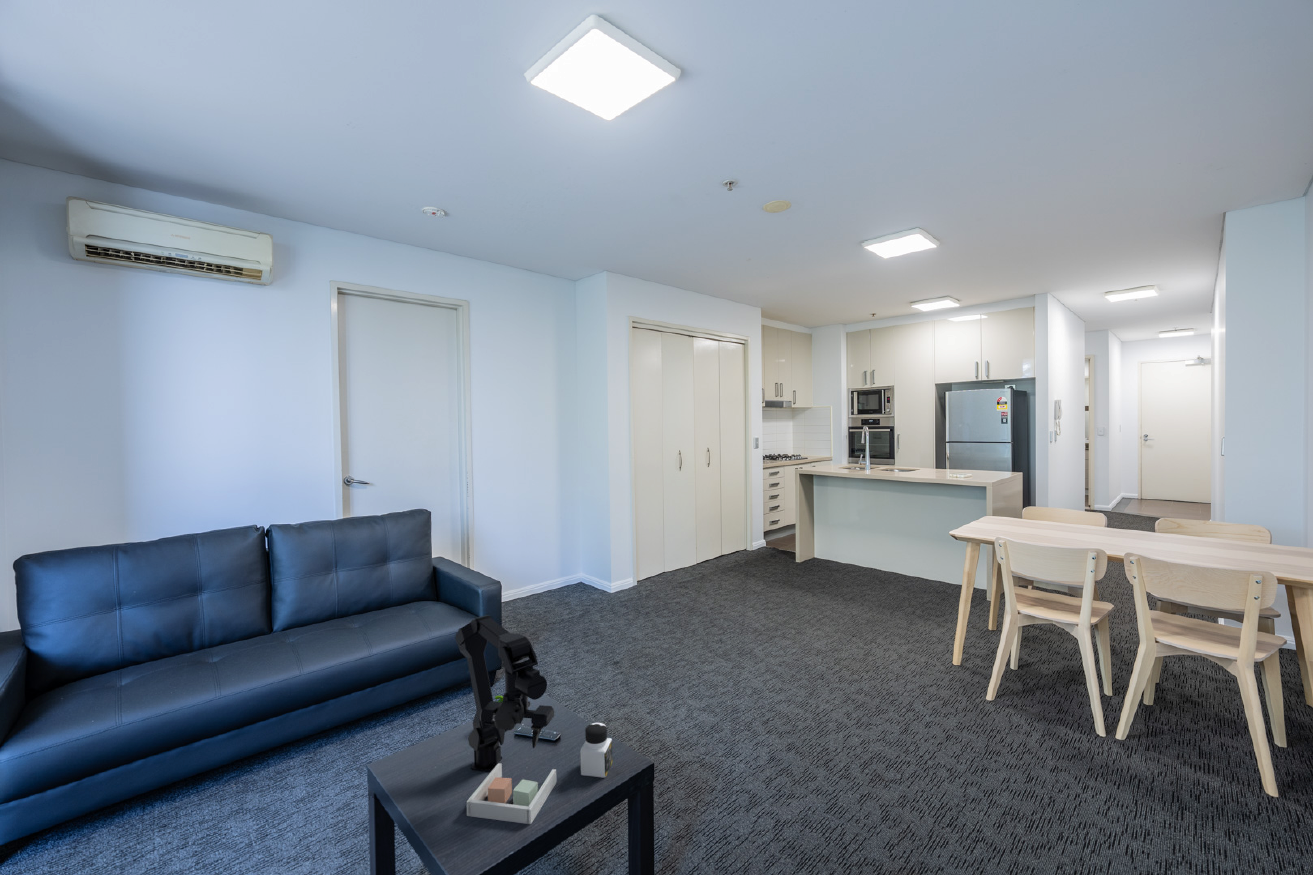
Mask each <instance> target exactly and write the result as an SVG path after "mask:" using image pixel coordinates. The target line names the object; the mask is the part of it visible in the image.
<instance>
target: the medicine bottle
mask: <svg viewBox="0 0 1313 875" xmlns="http://www.w3.org/2000/svg"><path fill="white" fill-rule="evenodd" d="M584 733H585V734H584V735H585V736H584V737H585V742H584V744H583V745H582V747H581V748H580V750H579V752H580V775H581V776H584V777H585V776H586V777H594V778H604V779H605V778H606V777H607V775H608V773H609V771H610V769H611V766H612V764H613V739H612V738H610V737H608V727H607V726H606V724H604V723H601V722H593V723H590V724H589V725H588V724H587V726H586V727H585V731H584Z"/></svg>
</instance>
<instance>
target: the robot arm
mask: <svg viewBox="0 0 1313 875" xmlns="http://www.w3.org/2000/svg"><path fill="white" fill-rule="evenodd" d="M454 638H455V642H456V644H457V646H458V650H459V652H460V653H461V654H462V656H464V658H466V660H467V665H468V670H469V676H470V682H471V687H472V693H473V698H474V703H475V708H476V709H475V710H476V711H475V713H474V714H475V715H474V717H473V721H472V727H473V728H472V729H473V730H472V731H471V733H470V734H469V735H468V737H467V740H468V741H467V742H468V746H469V747H471V748H472V749H473V758H474V759H473V764H472V766H471V770H477V771H486V772H491V771H492V770H493V769H494V768H495V767H496V765H497V764H498V763H500V762H502V760H503V756H502V748H501V746H503V745H504V742H505V733H506V731H510V730H511V731H512V730H513V729H514V728H515V727H516V725H521V723H522V722H523V720H524V719H531V720H530V721H531V724H532V725H531V726H530V729H531V730H532V737H531V738H532V739H531V741H532V742H531V743H532V749H535V748H536V747H537V745H538V744H537V743H538V740H539V738H540V735H541V731H542V730H543V728H545V727H547V726H548V725H549V724H550V722H551V721H552V720H553V718H554V717H555V709H554V707H553V706H551V705H541V704H540V705H539V706H538V707H537V708H536V709H535V710H534V709H529V708H530V706H531V701H529V699H531V700H534V701H536V700H539V699H540V698H542V697H543V695H544V694H546V691H547V687H548V681H547V680H546V678H545V677H544V676H543V675H541V671H540V670H539V669H537V668H534V667H535V666H538V664H539V662H538V659H537V658H538V656H537V653H536V652H535V650H534V648H533V646H532V642H531V641H530V640H529V639H528V637H526V636H524V635H523V634H520V633H511V632H509V631H508V630H507V629H505V627H503V626H501V625H500V623H498V622H496V621H495V620H493V617H492V616H491V615H488V614H486V615H481V616H478V617H475V618H474V619H472V620H471V621H470V622H468V623H467V624H465V625H464V626H462V627H459V628H458V631H457V632H456V633H455V636H454ZM488 642H489V643H490V644H491V645H493V646H494V647H495V648H496V649H497V651H498V652H497V653H498V657H499V658H500V660H501V661H502V663H501V664H500V665H501V668H504V682H505V684H504V685H505V686H504V687H505V691H504V692H505V693H504V694H502V697H503V701H502V702H495V701H494V699H493V697H494V696H493V692H492V689H491V683H490V678H489V672H488V668H487V662H486V657H485V651H486V648H487V645H488Z"/></svg>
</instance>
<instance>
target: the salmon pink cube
mask: <svg viewBox="0 0 1313 875" xmlns="http://www.w3.org/2000/svg"><path fill="white" fill-rule="evenodd" d="M512 781H513V780H512V778H511V777H501V778H499V777H495V778H494V780H493V781H492V783H491V784H490V786H489V787H488V795H487V801H489V802H497V803H505V804H507V802H508V800H509V799H510V797H511V796H512V795H513V782H512Z"/></svg>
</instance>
